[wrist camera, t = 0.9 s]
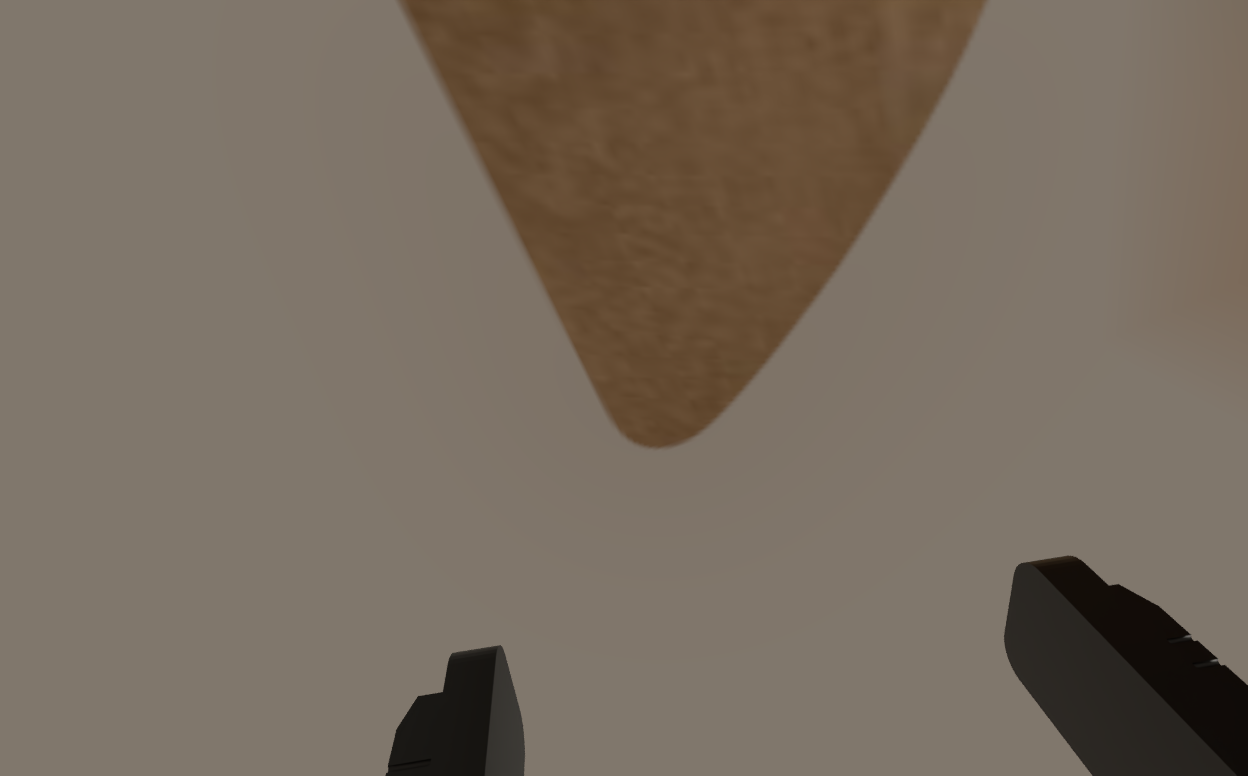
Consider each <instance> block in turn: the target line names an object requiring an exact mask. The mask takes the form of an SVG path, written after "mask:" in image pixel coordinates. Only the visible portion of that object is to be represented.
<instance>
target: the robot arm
mask: <svg viewBox="0 0 1248 776" xmlns="http://www.w3.org/2000/svg"><path fill="white" fill-rule="evenodd" d="M1004 642H1005V648H1006V653H1007V656H1008V659H1009V662H1010V664H1011V666H1012V668H1013V670H1014V672H1015V674H1016V675H1017V677H1018V678H1019V680H1020V681H1021V682H1022V684H1023V685H1024V686H1025V687H1026V689H1027V690H1028V692H1029V693H1030V694H1031V695H1032V697H1033V698H1034V699H1035V701H1036V702H1037V703H1038V705H1039V706H1040V707H1041V709H1042V710H1043V711H1044V712H1045V714H1046V715H1047V716H1048V718H1049V719H1050V720H1051V722H1052V723H1053V724H1054V726H1055V727H1056V728H1057V730H1058V731H1059V732H1060V734H1061V735H1062V736H1063V737H1064V739H1065V740H1066V741H1067V743H1068V744H1069V745H1070V746H1071V748H1072V749H1073V751H1074V752H1075V753H1076V755H1077V756H1078V757H1079V758H1080V760H1081V761H1082V762H1083V764H1084V765H1085V766H1086V767H1087V769H1088V770H1089V772H1090V773H1091V774H1092V776H1248V685H1246V683H1245V682H1243V681H1242V680H1241V679H1240V678H1239V677H1238V676H1237V675H1235V674H1234V673H1233V672H1232V671H1231V670H1230V669H1229V668H1228V667H1227V666H1225V665H1222V666H1221V665H1220V664H1219V662H1218V658H1217V657H1215V656H1214V655H1213V654H1212V653H1211V652H1210V651H1209V650H1208V649H1206V648H1205V647H1204V646H1203V645H1202V644H1201V643H1200V642H1199V641H1193V640H1192V638H1191V634H1189V633H1188V632H1187V631H1186V630H1185V629H1184V628H1183V627H1181V626H1180V625H1179V624H1178V623H1177V622H1176V621H1175V620H1174V619H1173V618H1172V617H1170V616H1169V615H1168V614H1167V613H1166V612H1165V611H1164V610H1162V609H1161V608H1160V607H1159V606H1157V605H1156V604H1154V603H1151V602H1150V601H1148V600H1146V599H1145V598H1143V597H1141V596H1139V595H1137V594H1135V593H1134V592H1132V591H1130V590H1128V589H1126V588H1124V587H1123V586H1121V585H1119V584H1117V585H1111V586H1109V585H1108V584H1106V583H1105V582H1104V581H1103V580H1102V579H1101V578H1100V577H1099V576H1098V575H1097V574H1096V573H1095V572H1094V571H1093V570H1091V569H1090V568H1089V567H1088V566H1087V565H1086V564H1085V563H1084V562H1083V561H1081V560H1079V559H1078V558H1076V557H1073V556H1063V557H1057V558H1051V559H1044V560H1038V561H1032V562H1026V563H1021V564H1019V565H1018V566H1017V567H1016V570H1015V572H1014V577H1013V584H1012V590H1011V596H1010V602H1009V609H1008V615H1007V621H1006V627H1005V635H1004ZM524 762H525V746H524V732H523V724H522V718H521V713H520V709H519V705H518V702H517V697H516V694H515V690H514V686H513V683H512V679H511V675H510V671H509V667H508V664H507V660H506V656H505V653H504V650H503V648H502V646H501V645H500V646H493V647H487V648H481V649H474V650H468V651H462V652H456V653H452V654H451V656H450V658H449V661H448V666H447V672H446V678H445V683H444V689H443V692H441V693H435V694H429V695H424V696H418V697H417V699H416V700H415V702H414V703H413V705H412V706H411V708H410V709H409V711H408V713H407V714H406V716H405V717H404V719H403V720H402V722H401V724H400V725H399V726H398V728H397V730H396V734H395V738H394V742H393V747H392V751H391V755H390V759H389V763H388V773H386V776H524Z"/></svg>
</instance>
